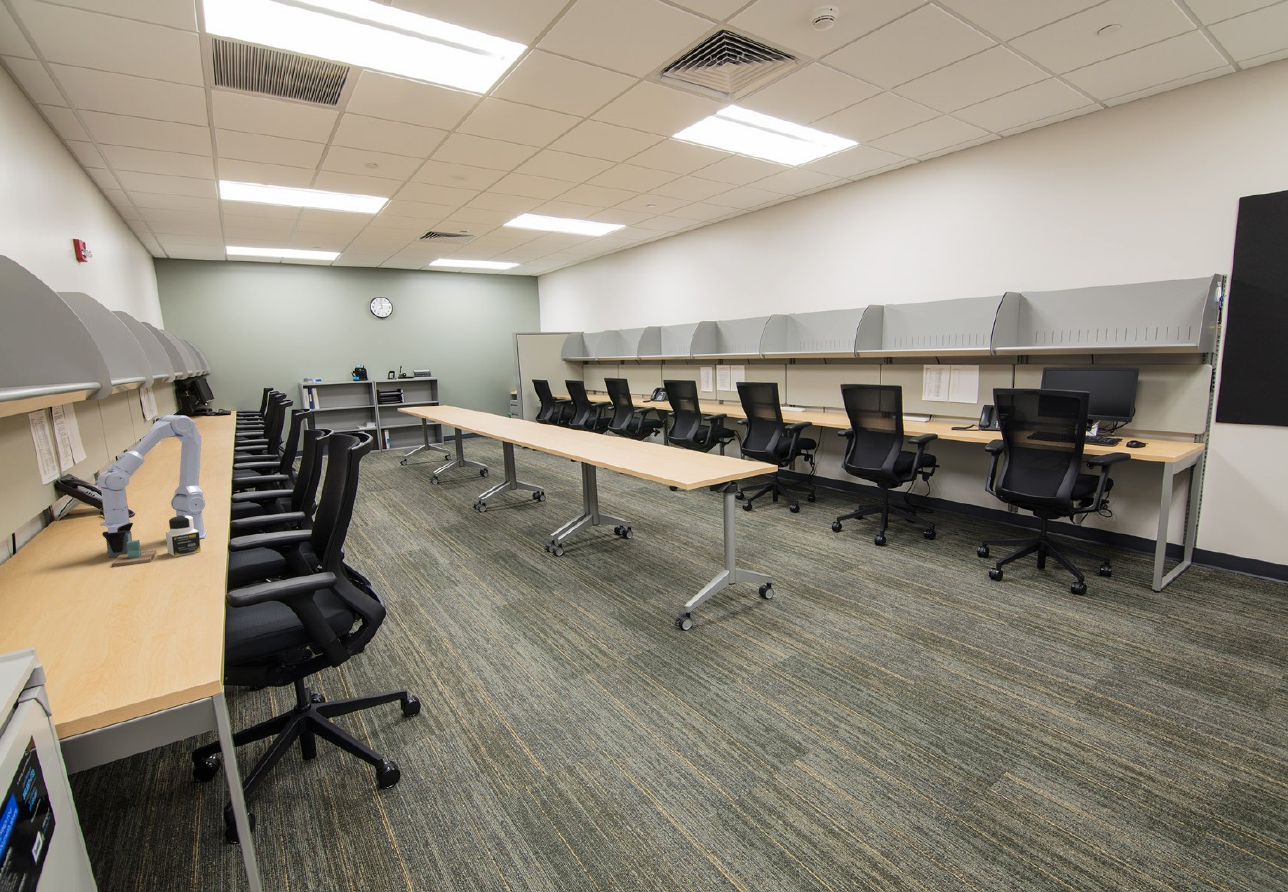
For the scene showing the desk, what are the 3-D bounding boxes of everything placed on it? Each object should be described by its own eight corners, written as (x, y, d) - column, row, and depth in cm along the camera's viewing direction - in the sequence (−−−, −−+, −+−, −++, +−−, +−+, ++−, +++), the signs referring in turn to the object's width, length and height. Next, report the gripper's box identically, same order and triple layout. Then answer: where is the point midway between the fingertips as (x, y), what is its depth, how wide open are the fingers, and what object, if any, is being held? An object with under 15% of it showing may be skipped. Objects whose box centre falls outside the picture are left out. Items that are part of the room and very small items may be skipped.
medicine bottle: (173, 557, 180) (170, 520, 179) (167, 552, 184) (163, 517, 183) (201, 551, 186) (197, 516, 184) (194, 547, 190) (190, 513, 189)
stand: (119, 557, 179) (117, 539, 178) (156, 553, 184) (154, 535, 183) (112, 567, 171) (109, 548, 170) (150, 561, 176) (148, 543, 175)
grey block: (112, 552, 184) (109, 533, 183) (133, 550, 187) (131, 531, 186) (108, 557, 179) (105, 537, 179) (130, 554, 182) (127, 534, 181)
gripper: (104, 505, 185) (109, 545, 187) (92, 514, 173) (97, 557, 175) (133, 502, 189) (137, 541, 190) (123, 511, 177) (128, 553, 178)
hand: (120, 549), depth 183 cm, fingers open, 7 cm apart
